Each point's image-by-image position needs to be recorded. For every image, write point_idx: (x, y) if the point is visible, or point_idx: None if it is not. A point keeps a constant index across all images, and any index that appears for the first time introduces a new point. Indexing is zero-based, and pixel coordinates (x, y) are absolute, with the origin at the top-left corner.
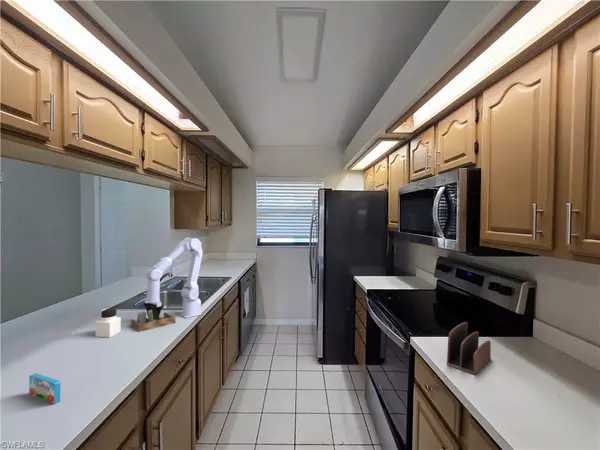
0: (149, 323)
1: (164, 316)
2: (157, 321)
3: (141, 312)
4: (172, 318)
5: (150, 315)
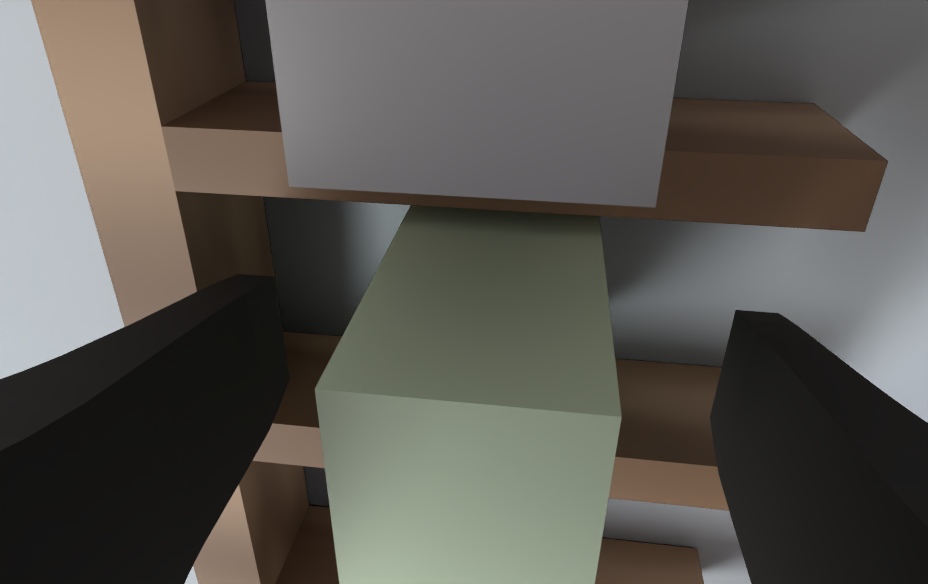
0: (49, 48)
1: (674, 581)
2: (116, 285)
3: (554, 7)
4: (205, 569)
5: (364, 297)
